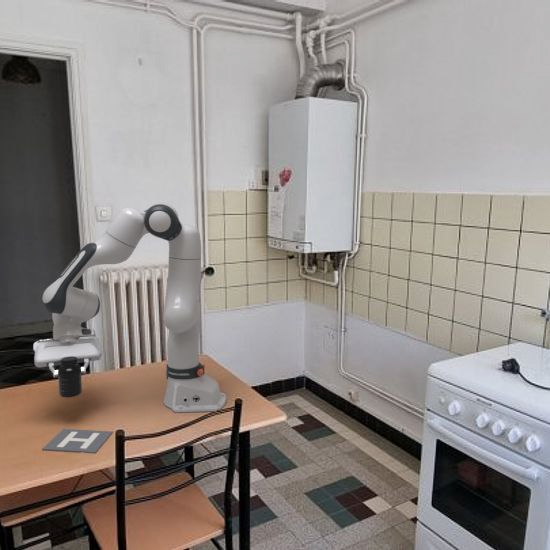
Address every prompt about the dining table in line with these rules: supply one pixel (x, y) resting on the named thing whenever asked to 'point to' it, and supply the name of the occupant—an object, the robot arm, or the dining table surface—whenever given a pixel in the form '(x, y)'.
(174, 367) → the robot arm
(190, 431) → the dining table surface
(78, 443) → the board
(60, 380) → the supplement bottle
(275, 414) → the dining table surface
